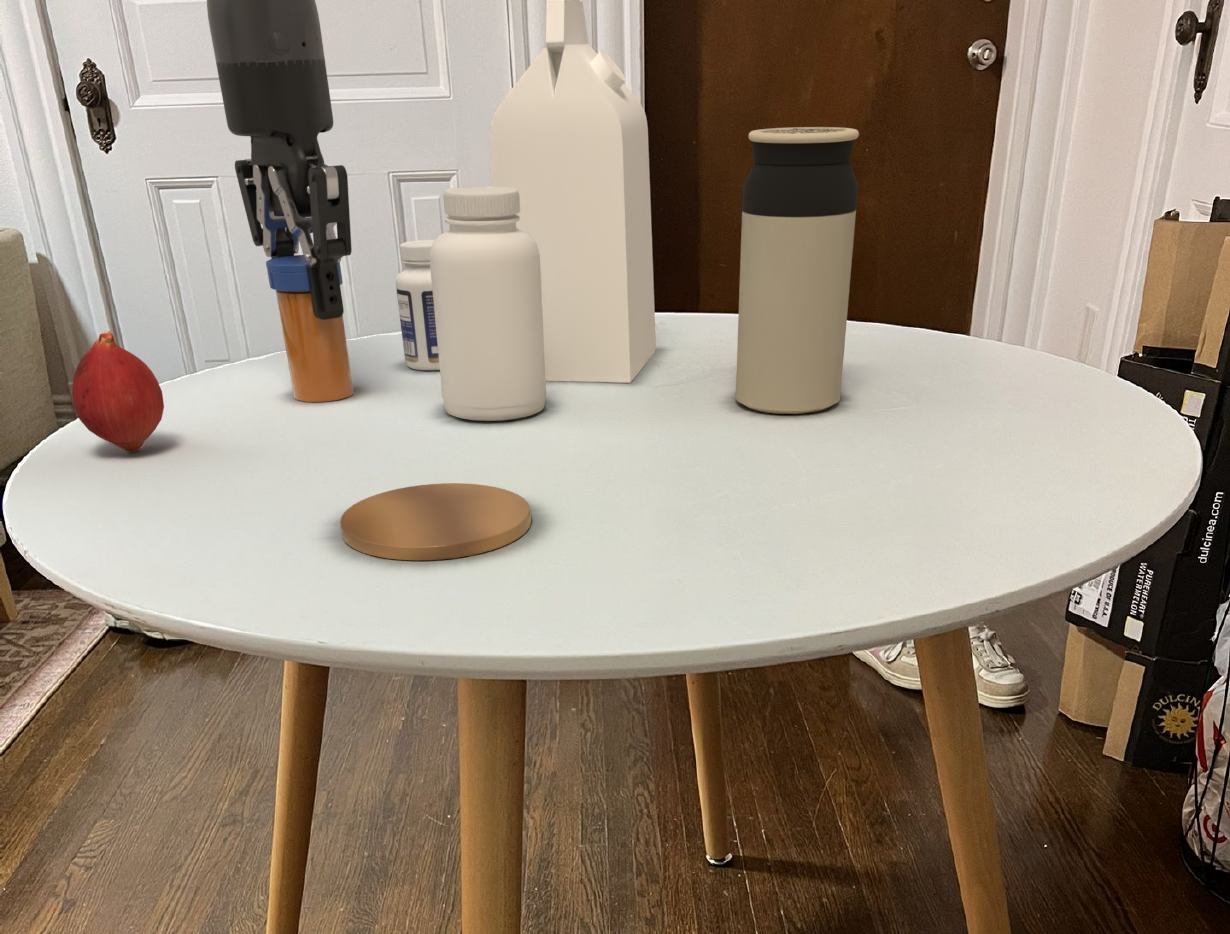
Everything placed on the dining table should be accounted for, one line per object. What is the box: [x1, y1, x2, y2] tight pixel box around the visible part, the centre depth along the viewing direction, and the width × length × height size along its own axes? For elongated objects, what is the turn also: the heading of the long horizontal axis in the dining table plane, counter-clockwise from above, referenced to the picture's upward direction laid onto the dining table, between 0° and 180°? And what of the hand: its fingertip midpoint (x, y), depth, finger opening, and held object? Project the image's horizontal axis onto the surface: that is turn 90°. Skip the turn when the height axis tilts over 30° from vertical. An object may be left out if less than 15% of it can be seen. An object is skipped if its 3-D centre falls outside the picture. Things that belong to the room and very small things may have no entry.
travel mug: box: [735, 126, 860, 415], centre depth 84 cm, size 8×8×18 cm
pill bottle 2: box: [430, 185, 547, 422], centre depth 85 cm, size 8×8×15 cm
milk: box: [488, 0, 657, 384], centre depth 94 cm, size 12×12×26 cm
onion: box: [71, 330, 165, 453], centre depth 79 cm, size 6×6×8 cm
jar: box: [275, 290, 355, 403], centre depth 91 cm, size 5×5×9 cm
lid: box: [265, 254, 343, 291], centre depth 89 cm, size 6×6×2 cm
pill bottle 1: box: [395, 239, 440, 371], centre depth 99 cm, size 5×5×10 cm
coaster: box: [339, 482, 532, 561], centre depth 67 cm, size 11×11×1 cm
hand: (311, 311), depth 91 cm, fingers closed on lid, 5 cm apart
